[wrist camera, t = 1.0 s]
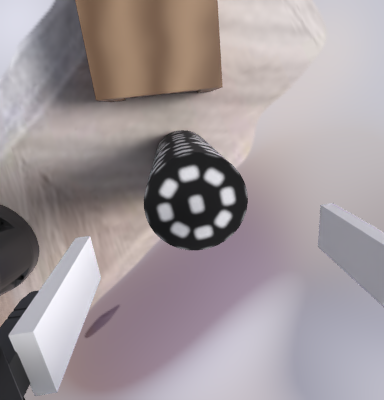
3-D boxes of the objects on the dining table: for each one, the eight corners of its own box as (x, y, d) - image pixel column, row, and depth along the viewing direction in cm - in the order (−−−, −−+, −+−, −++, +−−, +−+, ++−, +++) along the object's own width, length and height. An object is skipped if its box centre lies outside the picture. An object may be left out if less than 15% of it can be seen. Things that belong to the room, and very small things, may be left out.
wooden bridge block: (110, 101, 37) (96, 100, 29) (87, -22, 32) (62, -62, 24) (211, 91, 37) (222, 86, 30) (202, -32, 33) (213, -74, 25)
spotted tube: (148, 138, 39) (129, 167, 20) (204, 124, 39) (238, 140, 20) (163, 191, 41) (160, 260, 23) (215, 177, 41) (254, 236, 23)
